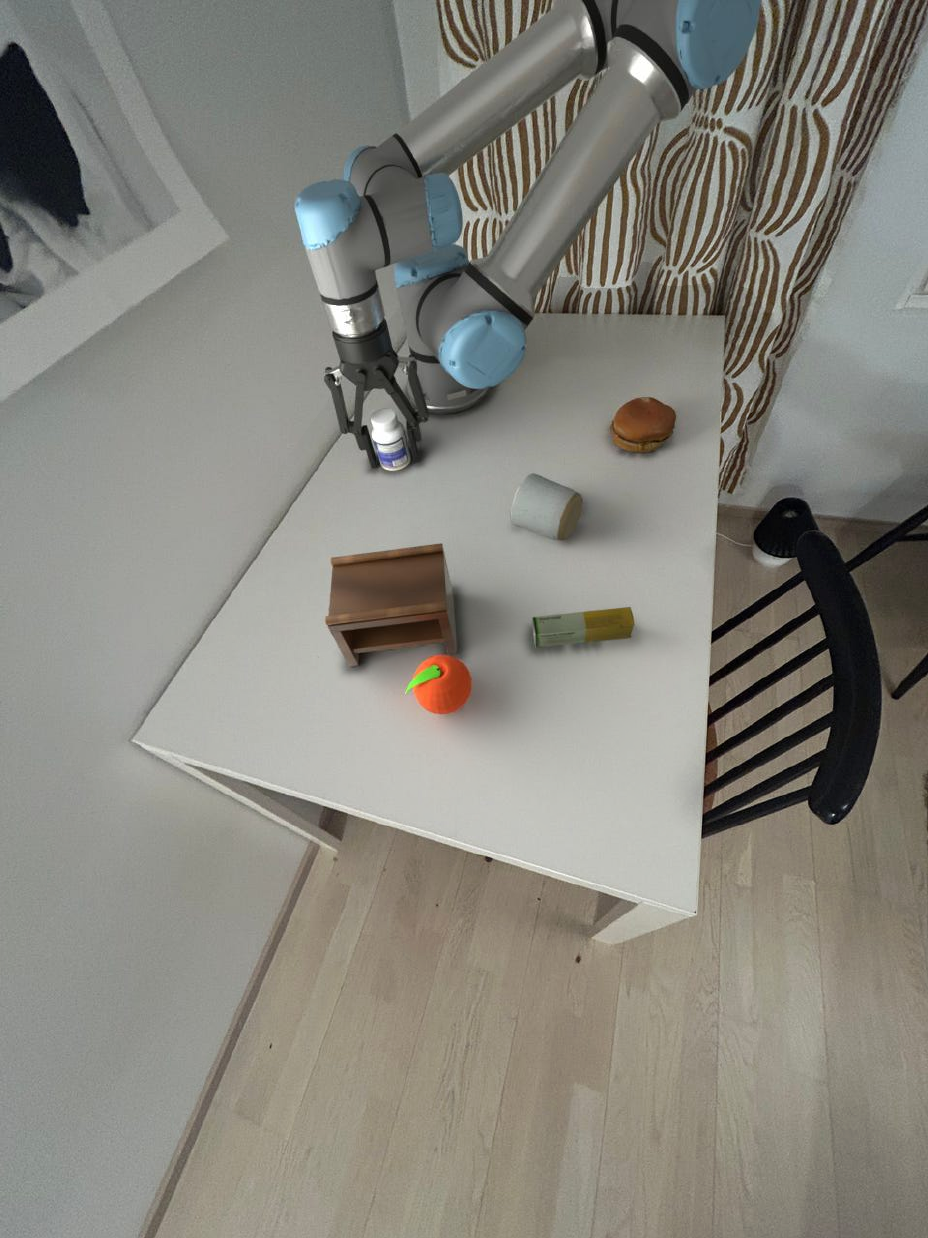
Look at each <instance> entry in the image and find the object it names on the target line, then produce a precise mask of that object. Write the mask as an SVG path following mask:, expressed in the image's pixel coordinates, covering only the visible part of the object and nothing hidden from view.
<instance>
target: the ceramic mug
mask: <svg viewBox="0 0 928 1238" xmlns="http://www.w3.org/2000/svg"><path fill="white" fill-rule="evenodd" d="M515 491H516V492H515V494H514V496H513V500H512V503H511V508H510V521H511V523H512V524H513V525H515V526H516V527H520V528H523V529H525V530H528V531H530V532H534V533H536V534H538V535H541V536H544V537H545V538H549V539H551V540H556V541H565V540H566V539H568V538H569V537H570V536H571V535H572V533H573V532H574V530H575V528H576V527H577V525H578V522H579V520H580V517H581V515H582V512H583V507H584V499H583V496H582V494H581V493H579V492H578V491H576V490H575V489H573V488H571V487H568V486H566V485H564V484H561V483H558V482H557V481H553V480H551V479H549V478H546V477H545V476H542V475H540V474H537V473H529V474H528V475H527V476H525V478H523V480H522V481H521V483H520V484H519V486H518V487H517V489H516V490H515Z"/></svg>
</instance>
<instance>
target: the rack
mask: <svg viewBox="0 0 928 1238" xmlns="http://www.w3.org/2000/svg"><path fill="white" fill-rule="evenodd" d="M329 559H330V560H329V561H330V565H331V566H332V567H331V568H332V569H331V579H330V592H329V602H328V613H327V616H325V617H324V623H325V625H326V626H327V629H328V631H329V632H330V634H331V635H332V638H333V640H334V641H335V643H336V645H337V646H338V649H339V650H340V652H341V654H342V656H343V658H344V659H345V661H346V663H347V665H348V666H349V667H356V666H359V659H360V653H368V652H377V651H386V650H394V649H402V648H403V649H404V648H411V647H418V646H420V647H421V646H428V645H435V644H444V645H445V649H446V652H447V655H450V656H452V655H457V654H458V645H457V629H456V618H455V617H456V616H455V602H454V591H453V586H452V582H451V581H452V580H451V577H450V573H449V567H448V563H447V559H446V554H445V549H444V546H443V542H442V543H434V544H425V545H418V546H411V547H404V548H403V547H402V548H395V549H388V550H380V551H372V552H364V553H357V554H349V555H341V556H335V557H334V556H333V557H330V558H329Z"/></svg>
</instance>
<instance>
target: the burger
mask: <svg viewBox="0 0 928 1238" xmlns="http://www.w3.org/2000/svg"><path fill="white" fill-rule="evenodd" d="M676 421H677V413H676V411H675V409H674V408H672V406H670V405H668V404H665V403H664V402H662V401H660V400H658V399H657V398H655V397H651V396H646V397H645V396H641V397H636V398H633V399H631V400H629V401H626V402H625V403H624V404H622V405H621V406H620V407H619V408H618V409H617V411H616V412H615V415H614V417H613V419H612V420H611V423H610V432H611V436H612V440H613V444H614V445H615V446H617V447H618V448H620V449H622V450H624V451H626V452H630V453H637V454H648V453H652V452H654V451H656V450H657V449H659V448H660V447H662V446H663V445H664V444H665V443H666V442H667V441H668V440H669V439H670V437H671V436H672V435H673V434H674V429H675V428H676Z"/></svg>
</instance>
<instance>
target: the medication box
mask: <svg viewBox="0 0 928 1238" xmlns="http://www.w3.org/2000/svg"><path fill="white" fill-rule="evenodd" d="M531 620H532V638H533V639H532V640H533V644H534V647H535V649H537V648H544V647H546V648H547V647H556V646H565V645H567V646H568V645H577V644H587V643H595V642H604V641H616V640H625V639H632V638H633V635H632V634H633V631H634V630H633V629H634V627H635V617H634V614H633V610H632V607H631V606H623V607H615V608H607V609H606V608H605V609H596V610H588V611H587V610H586V611H579V612H569V613H560V614H559V613H558V614H551V615H541V616H532V618H531Z"/></svg>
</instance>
